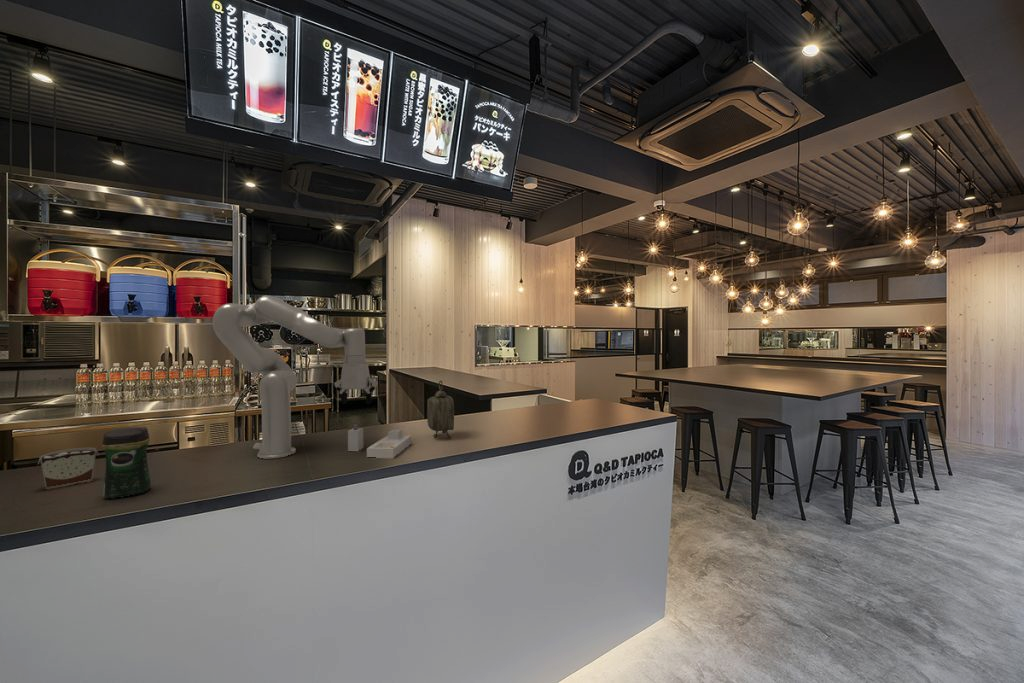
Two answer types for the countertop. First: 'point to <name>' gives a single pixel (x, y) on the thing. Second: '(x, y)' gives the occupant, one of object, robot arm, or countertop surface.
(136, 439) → the coffee jar
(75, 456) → the food container
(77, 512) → the countertop surface
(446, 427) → the dark lantern
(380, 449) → the power strip
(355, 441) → the plug
